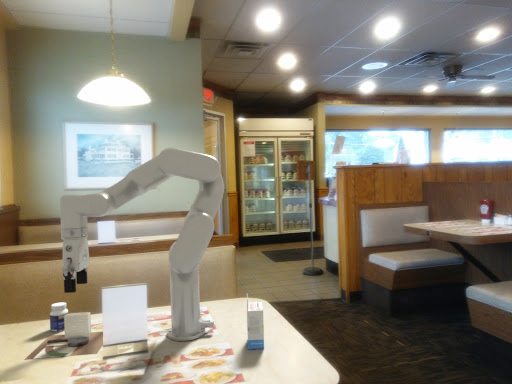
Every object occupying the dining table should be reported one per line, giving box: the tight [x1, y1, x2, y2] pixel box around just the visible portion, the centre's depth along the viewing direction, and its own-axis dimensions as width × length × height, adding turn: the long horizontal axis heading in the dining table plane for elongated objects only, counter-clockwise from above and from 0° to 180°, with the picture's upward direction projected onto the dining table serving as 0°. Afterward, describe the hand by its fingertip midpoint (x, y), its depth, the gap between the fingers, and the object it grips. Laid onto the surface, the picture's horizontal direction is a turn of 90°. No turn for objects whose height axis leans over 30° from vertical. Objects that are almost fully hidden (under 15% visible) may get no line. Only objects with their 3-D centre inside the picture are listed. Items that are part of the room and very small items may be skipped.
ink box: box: [246, 293, 265, 350], centre depth 114 cm, size 8×5×15 cm, turn 2°
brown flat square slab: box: [23, 331, 104, 361], centre depth 115 cm, size 20×18×1 cm
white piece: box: [47, 311, 92, 347], centre depth 115 cm, size 12×6×9 cm, turn 97°
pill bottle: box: [49, 301, 69, 333], centre depth 128 cm, size 6×6×10 cm
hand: (76, 287), depth 115 cm, fingers open, 9 cm apart
